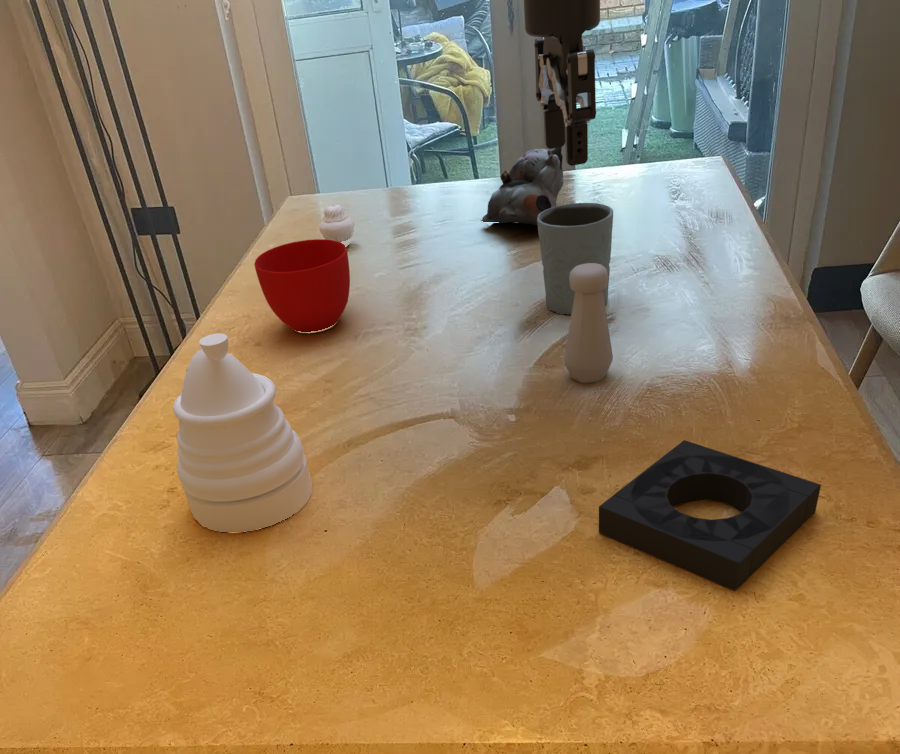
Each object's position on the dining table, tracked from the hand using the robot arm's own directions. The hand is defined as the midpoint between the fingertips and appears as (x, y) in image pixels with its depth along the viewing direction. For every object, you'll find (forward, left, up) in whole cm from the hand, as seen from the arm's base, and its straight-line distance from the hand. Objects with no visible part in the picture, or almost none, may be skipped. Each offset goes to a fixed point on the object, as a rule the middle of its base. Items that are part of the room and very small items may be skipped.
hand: (565, 155), depth 93 cm
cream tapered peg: (+4, +6, -23) cm, 24 cm away
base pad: (+22, +33, -23) cm, 46 cm away
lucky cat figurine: (-36, -38, -23) cm, 57 cm away
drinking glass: (-13, -9, -23) cm, 28 cm away
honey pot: (+45, -7, -23) cm, 51 cm away
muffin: (-13, -61, -23) cm, 67 cm away
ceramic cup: (+10, -38, -23) cm, 46 cm away
